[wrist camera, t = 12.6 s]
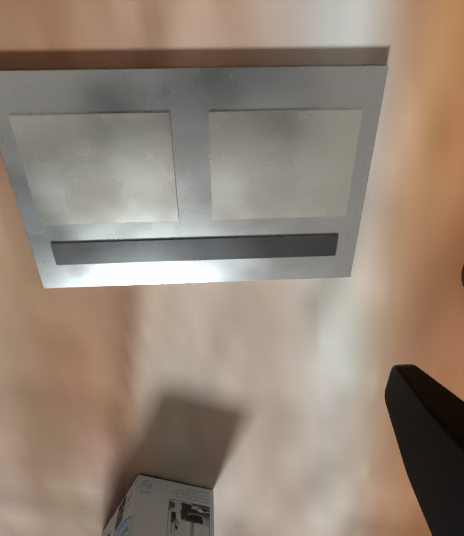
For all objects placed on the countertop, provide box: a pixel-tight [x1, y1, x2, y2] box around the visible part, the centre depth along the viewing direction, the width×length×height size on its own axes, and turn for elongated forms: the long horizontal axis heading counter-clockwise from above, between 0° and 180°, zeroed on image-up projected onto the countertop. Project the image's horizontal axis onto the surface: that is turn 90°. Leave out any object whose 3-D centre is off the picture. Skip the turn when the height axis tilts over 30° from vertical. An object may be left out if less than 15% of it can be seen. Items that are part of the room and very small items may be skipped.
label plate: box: [0, 65, 388, 288], centre depth 18 cm, size 16×10×1 cm, turn 90°
